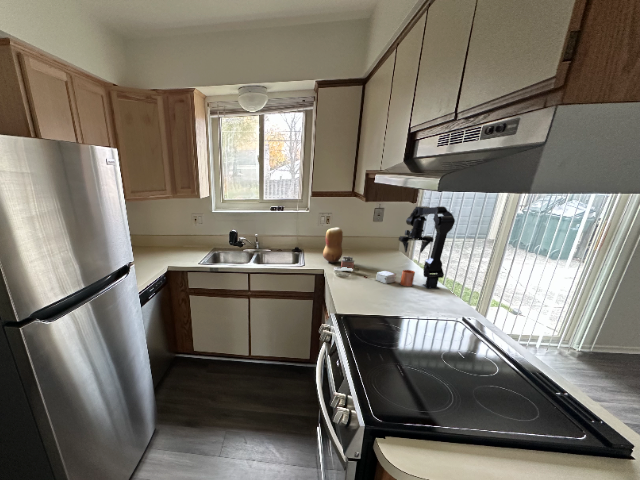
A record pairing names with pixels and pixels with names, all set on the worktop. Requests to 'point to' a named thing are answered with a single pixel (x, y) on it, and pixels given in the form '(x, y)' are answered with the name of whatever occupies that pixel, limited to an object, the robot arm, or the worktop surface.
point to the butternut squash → (333, 245)
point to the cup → (407, 278)
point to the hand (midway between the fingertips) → (413, 252)
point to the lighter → (348, 262)
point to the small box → (385, 277)
